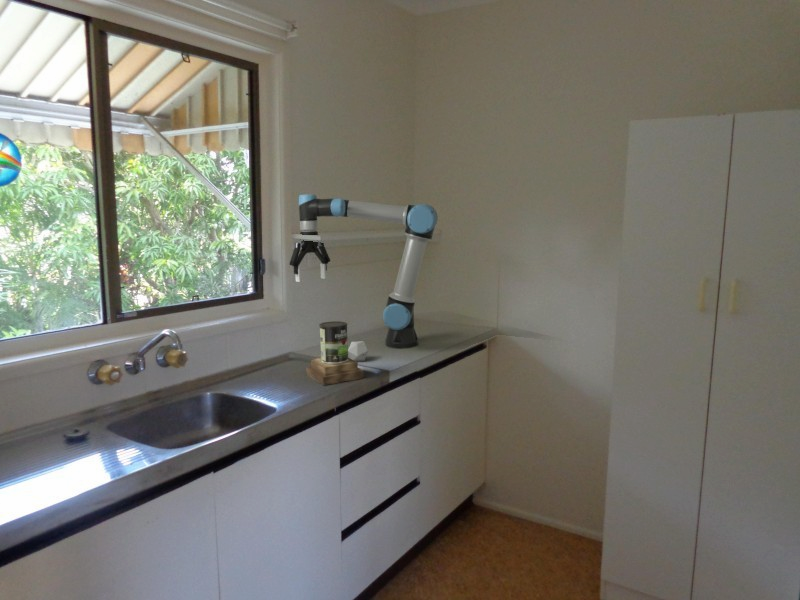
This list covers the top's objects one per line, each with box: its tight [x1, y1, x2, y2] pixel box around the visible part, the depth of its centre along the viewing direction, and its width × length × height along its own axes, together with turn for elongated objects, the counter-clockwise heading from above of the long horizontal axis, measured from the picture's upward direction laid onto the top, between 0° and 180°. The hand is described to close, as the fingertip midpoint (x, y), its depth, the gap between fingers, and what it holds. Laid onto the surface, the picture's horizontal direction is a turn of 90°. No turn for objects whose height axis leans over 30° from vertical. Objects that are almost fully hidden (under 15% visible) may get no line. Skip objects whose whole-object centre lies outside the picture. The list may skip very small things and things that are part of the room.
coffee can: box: [318, 320, 349, 364], centre depth 217 cm, size 10×10×14 cm
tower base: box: [305, 357, 364, 386], centre depth 218 cm, size 16×16×6 cm
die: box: [348, 340, 369, 362], centre depth 241 cm, size 8×9×10 cm
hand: (311, 280), depth 253 cm, fingers open, 13 cm apart
